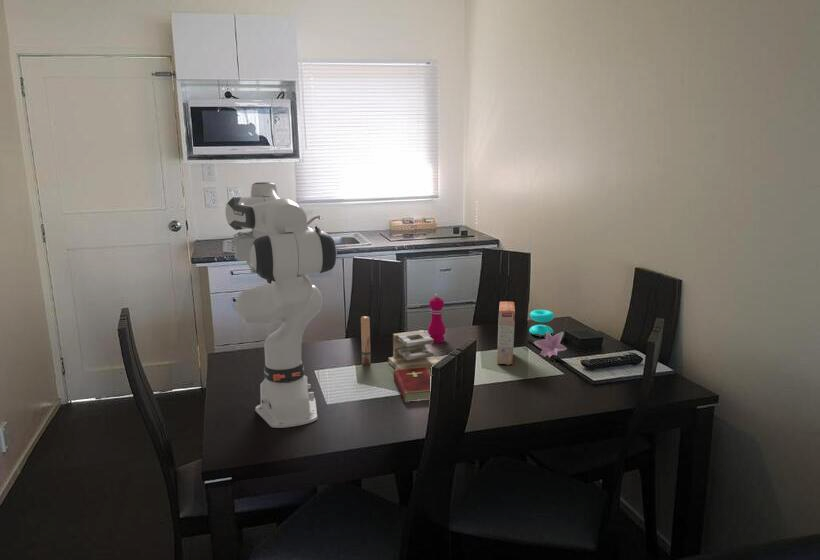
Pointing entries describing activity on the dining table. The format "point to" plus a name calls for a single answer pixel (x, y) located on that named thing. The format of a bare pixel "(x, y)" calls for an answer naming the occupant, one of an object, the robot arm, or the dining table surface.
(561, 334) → the lily
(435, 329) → the pepper mill
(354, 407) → the dining table surface
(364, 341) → the copper tube
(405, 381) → the hardcover book
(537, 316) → the donuts
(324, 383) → the dining table surface
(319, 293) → the robot arm
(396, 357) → the collar stand
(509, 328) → the cracker box
